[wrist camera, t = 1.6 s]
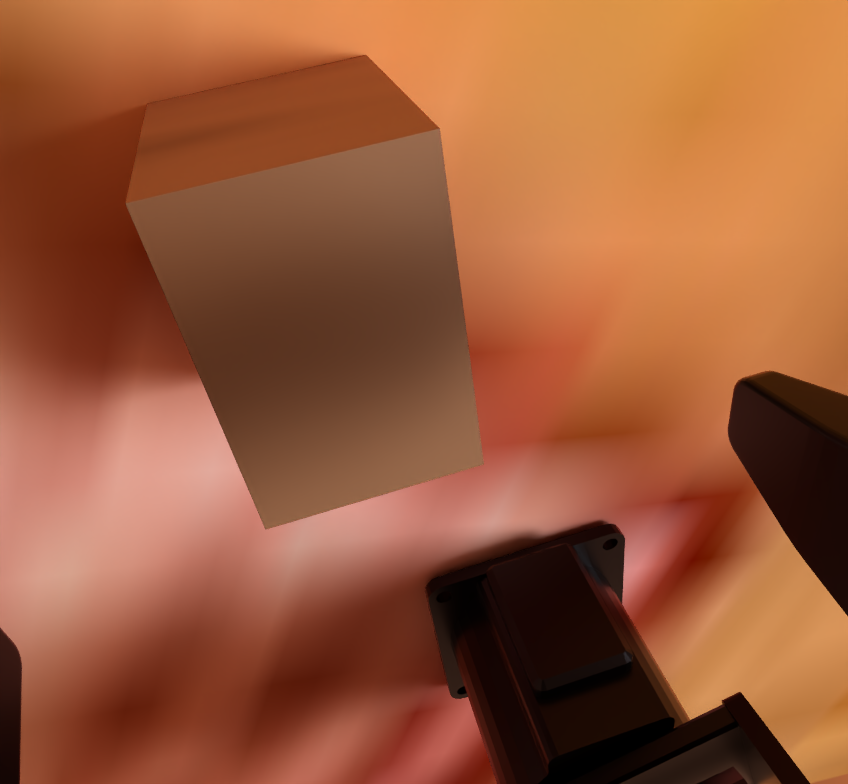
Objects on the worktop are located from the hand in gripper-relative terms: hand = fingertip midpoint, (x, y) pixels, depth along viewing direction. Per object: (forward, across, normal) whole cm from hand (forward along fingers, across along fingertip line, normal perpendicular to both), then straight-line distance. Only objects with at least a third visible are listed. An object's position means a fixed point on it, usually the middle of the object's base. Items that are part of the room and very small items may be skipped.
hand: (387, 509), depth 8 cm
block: (+8, 0, 0) cm, 8 cm away
